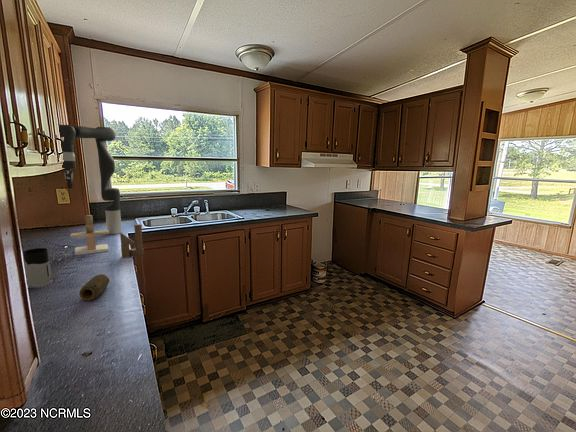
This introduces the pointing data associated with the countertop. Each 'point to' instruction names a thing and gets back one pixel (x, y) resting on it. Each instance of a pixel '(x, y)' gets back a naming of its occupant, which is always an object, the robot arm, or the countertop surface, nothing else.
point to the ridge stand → (91, 247)
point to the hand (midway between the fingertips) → (70, 187)
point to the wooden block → (127, 241)
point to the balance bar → (89, 229)
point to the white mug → (38, 266)
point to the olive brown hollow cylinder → (94, 287)
